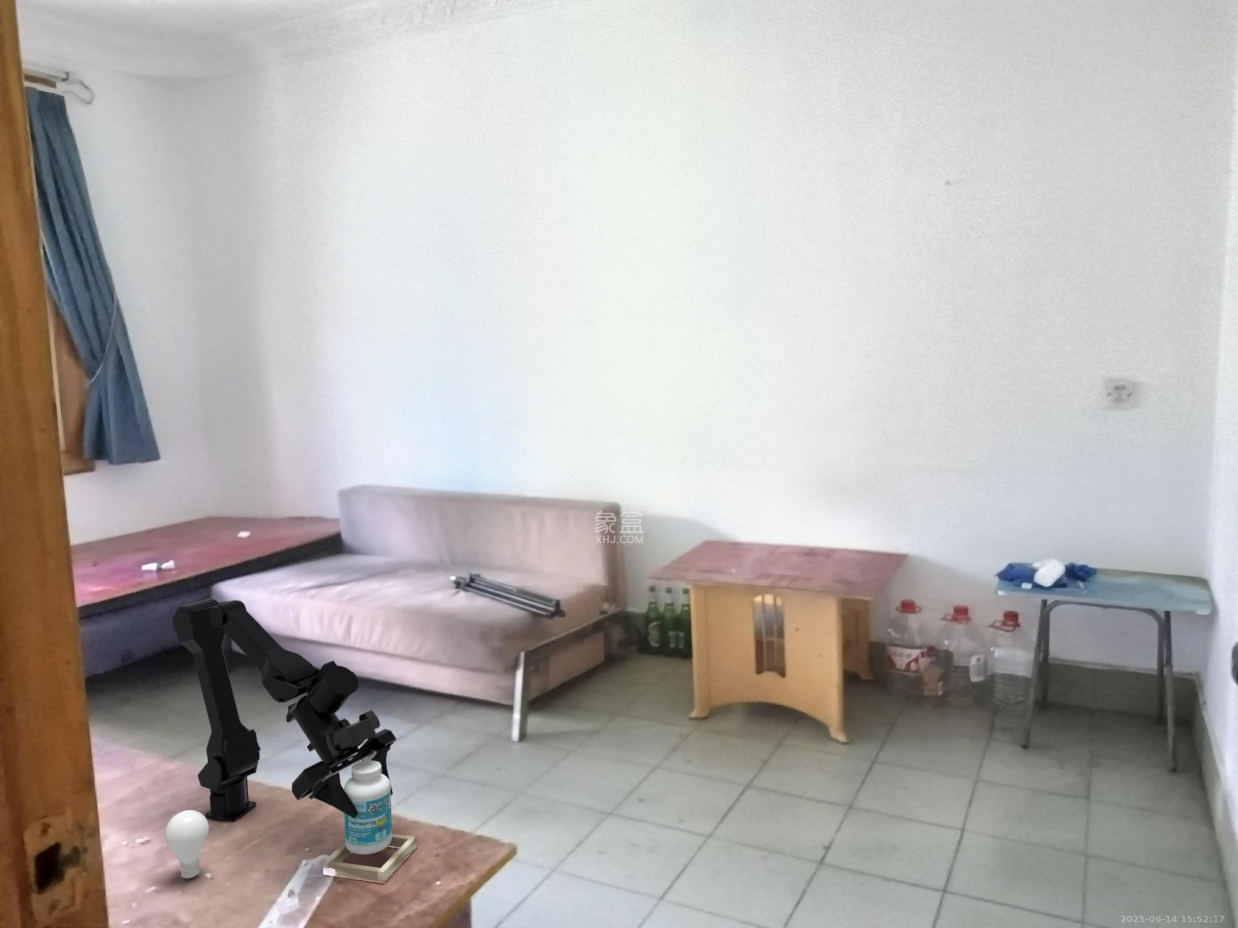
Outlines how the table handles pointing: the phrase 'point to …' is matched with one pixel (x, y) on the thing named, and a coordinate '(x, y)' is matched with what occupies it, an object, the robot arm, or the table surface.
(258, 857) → the table surface
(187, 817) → the lightbulb
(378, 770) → the pill bottle
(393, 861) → the wooden collar
